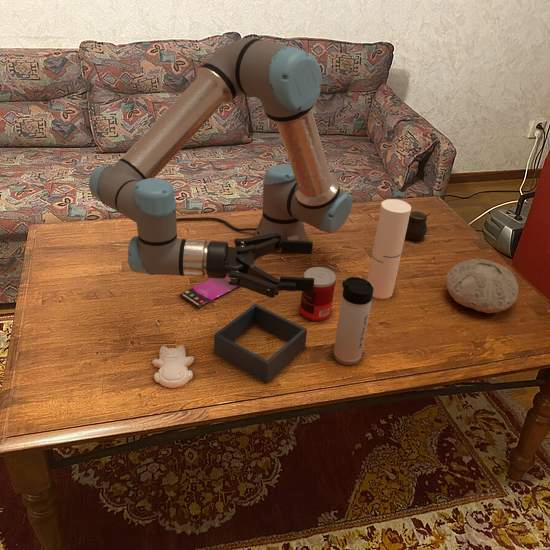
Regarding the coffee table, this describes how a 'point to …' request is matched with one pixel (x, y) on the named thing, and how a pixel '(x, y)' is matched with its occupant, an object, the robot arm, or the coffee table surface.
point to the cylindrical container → (388, 246)
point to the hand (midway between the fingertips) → (313, 265)
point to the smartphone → (207, 291)
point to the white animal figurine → (173, 367)
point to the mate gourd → (416, 225)
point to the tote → (249, 360)
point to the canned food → (318, 294)
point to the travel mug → (352, 320)
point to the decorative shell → (482, 285)
